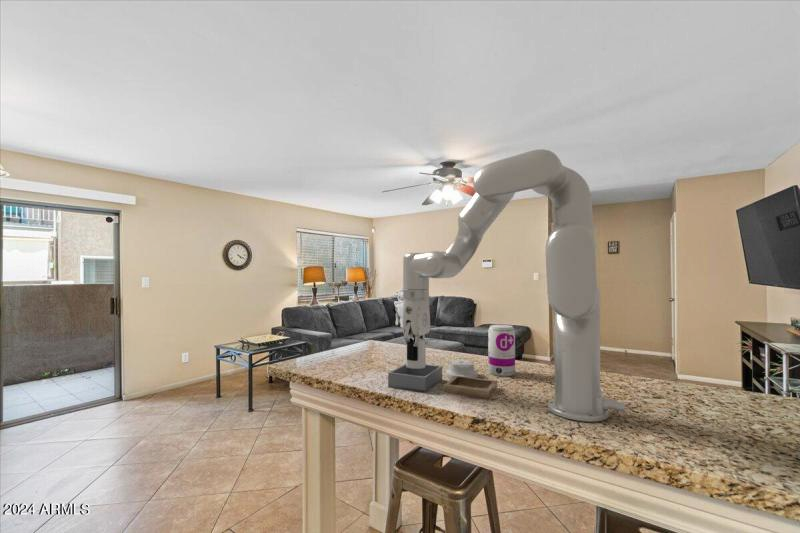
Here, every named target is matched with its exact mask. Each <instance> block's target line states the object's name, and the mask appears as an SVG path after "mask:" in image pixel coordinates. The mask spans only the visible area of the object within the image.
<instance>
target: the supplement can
mask: <svg viewBox="0 0 800 533" xmlns="http://www.w3.org/2000/svg"><path fill="white" fill-rule="evenodd" d="M487 330H488V331H487V334H488V335H487V336H488V338H487V341H488V342H487V344H488V347H487V348H488V349H487V351H488V352H487V353H488V354H487V355H488V367H487V369H488V372H490V374H491V375H494V376H498V377H510V376H513V375H514V374H515V373H516V331H515V329H514V327H513V325H509V324H491V325H489V328H488V329H487Z"/></svg>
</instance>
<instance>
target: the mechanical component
mask: <svg viewBox="0 0 800 533" xmlns="http://www.w3.org/2000/svg"><path fill="white" fill-rule="evenodd" d="M445 376H446V377H448V378H450V379H452V378H453V377H455V376H463V377H471V378H479V372H478V371H477V370H476V369H475V363H474V362H473V361H471V360H467V359H466V360H465V359H454V360H451V361H450V360H449V368H448V369H446V370H445Z"/></svg>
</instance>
